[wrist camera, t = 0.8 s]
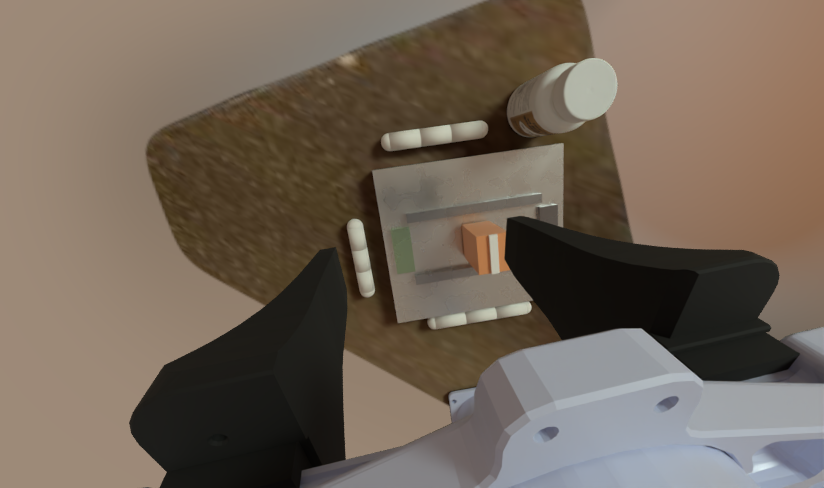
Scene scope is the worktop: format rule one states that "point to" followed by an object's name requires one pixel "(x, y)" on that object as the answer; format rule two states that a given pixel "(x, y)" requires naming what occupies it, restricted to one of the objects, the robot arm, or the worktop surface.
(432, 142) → the rod
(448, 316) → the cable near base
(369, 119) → the worktop surface
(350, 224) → the rod
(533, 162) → the breaker panel
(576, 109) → the pill bottle
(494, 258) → the lever
